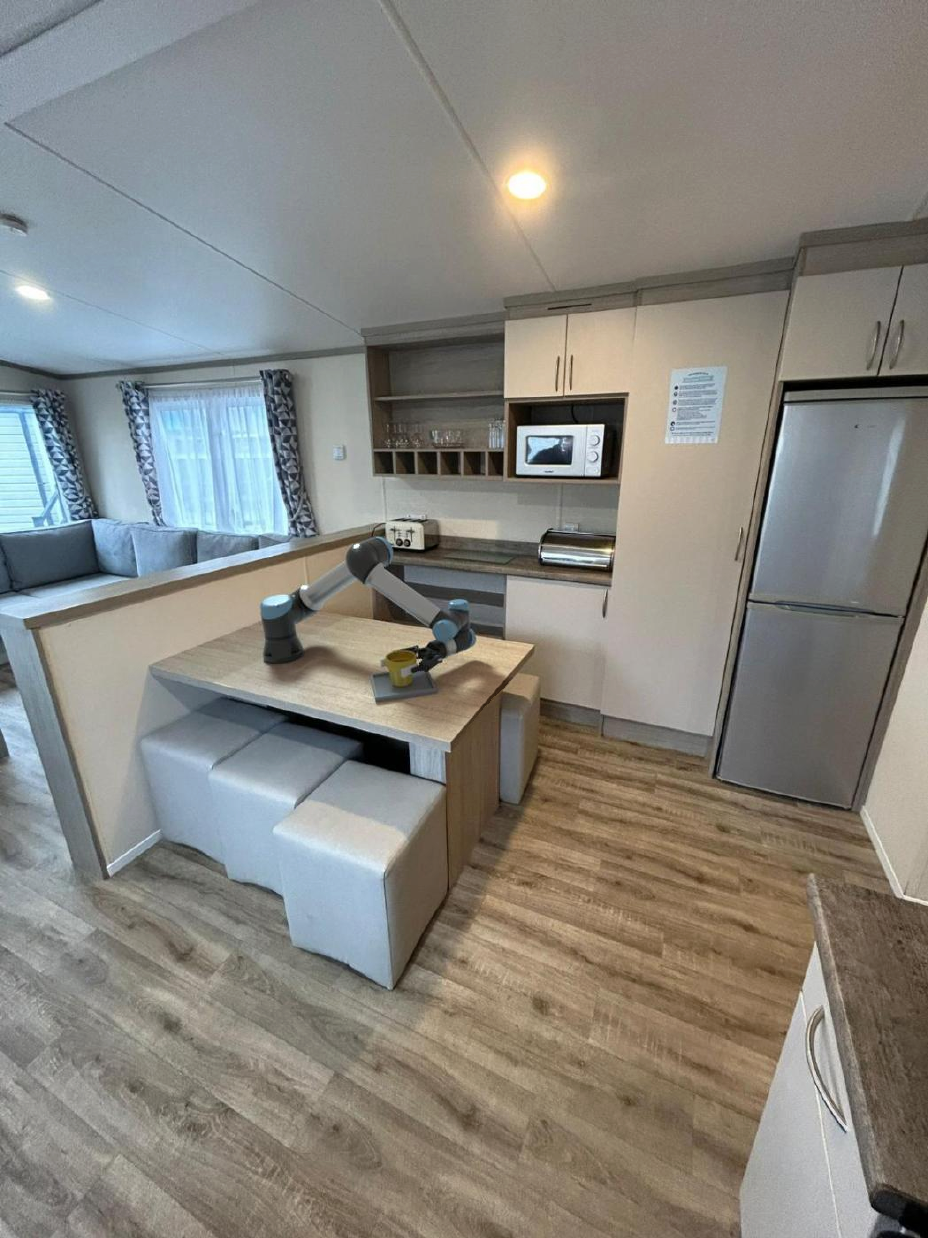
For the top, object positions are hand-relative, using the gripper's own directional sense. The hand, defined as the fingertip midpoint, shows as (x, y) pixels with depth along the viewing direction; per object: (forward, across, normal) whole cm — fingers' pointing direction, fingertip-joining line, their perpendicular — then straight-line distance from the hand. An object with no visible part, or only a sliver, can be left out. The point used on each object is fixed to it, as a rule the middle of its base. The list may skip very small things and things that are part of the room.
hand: (391, 668), depth 159 cm
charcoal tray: (-4, 0, -8) cm, 9 cm away
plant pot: (-4, 0, -7) cm, 8 cm away
